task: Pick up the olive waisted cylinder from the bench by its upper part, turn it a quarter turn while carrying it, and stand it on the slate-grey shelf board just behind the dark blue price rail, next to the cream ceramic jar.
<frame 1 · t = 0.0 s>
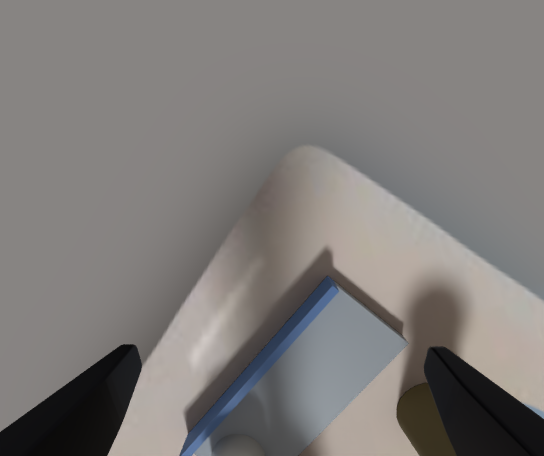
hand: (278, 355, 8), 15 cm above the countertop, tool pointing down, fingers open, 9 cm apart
olive waisted cylinder: (428, 410, 26), on the countertop
shelf: (292, 389, 26), on the countertop
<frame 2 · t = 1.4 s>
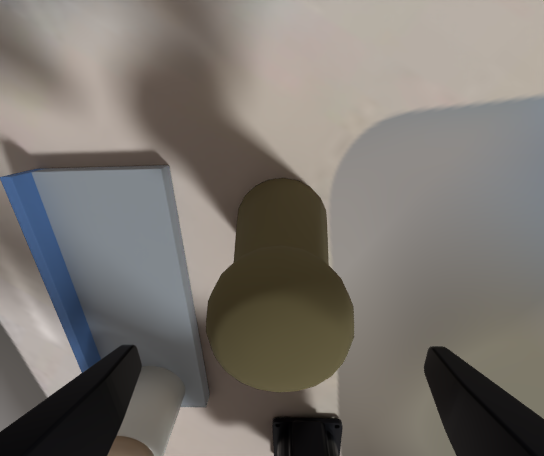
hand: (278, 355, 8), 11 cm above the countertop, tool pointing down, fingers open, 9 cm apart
olive waisted cylinder: (281, 221, 19), on the countertop
ceramic jar: (156, 386, 23), point 1 cm above the countertop, touching shelf
shelf: (142, 301, 21), on the countertop
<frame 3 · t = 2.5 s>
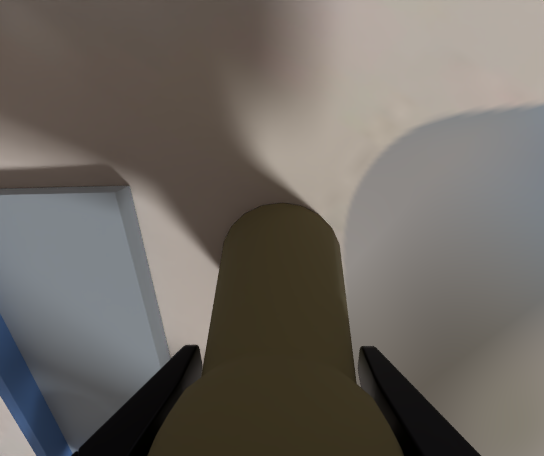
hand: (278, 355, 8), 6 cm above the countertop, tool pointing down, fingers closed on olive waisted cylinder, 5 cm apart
olive waisted cylinder: (280, 257, 14), on the countertop, touching gripper
shelf: (106, 352, 17), on the countertop
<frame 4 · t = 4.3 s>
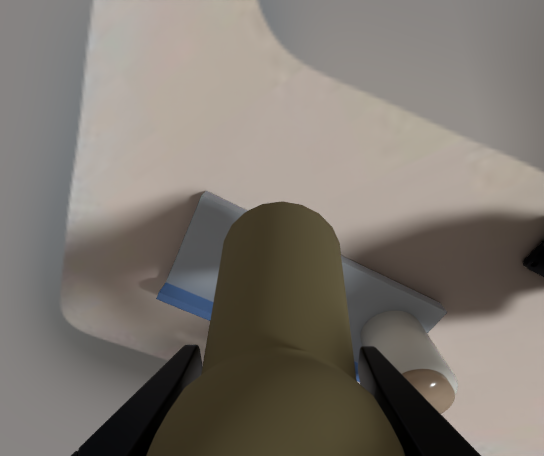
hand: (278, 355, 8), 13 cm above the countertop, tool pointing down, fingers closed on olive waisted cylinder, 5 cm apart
olive waisted cylinder: (280, 256, 14), point 7 cm above the countertop, touching gripper
ceramic jar: (390, 334, 23), point 1 cm above the countertop, touching shelf
shelf: (305, 288, 23), on the countertop
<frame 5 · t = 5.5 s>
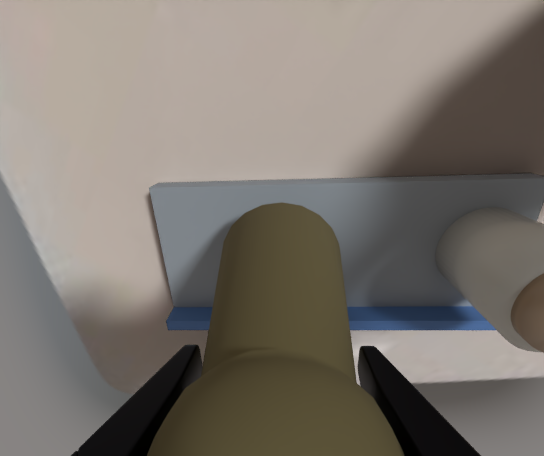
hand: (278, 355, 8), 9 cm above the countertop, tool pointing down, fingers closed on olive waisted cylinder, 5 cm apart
olive waisted cylinder: (280, 257, 14), point 3 cm above the countertop, touching gripper
ceramic jar: (481, 248, 16), point 1 cm above the countertop, touching shelf
shelf: (335, 242, 17), on the countertop
when the fingers open (8 cm above the countertop, at t = 6.1 s): olive waisted cylinder stays where it is, resting on shelf.
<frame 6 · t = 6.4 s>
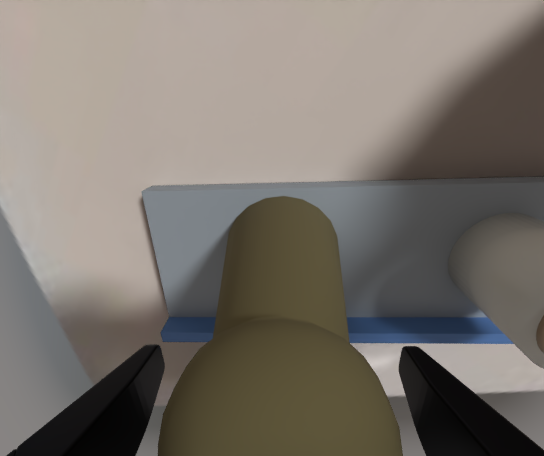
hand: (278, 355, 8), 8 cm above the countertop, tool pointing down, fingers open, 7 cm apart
olive waisted cylinder: (282, 248, 15), point 1 cm above the countertop, touching shelf
ceramic jar: (497, 257, 15), point 1 cm above the countertop, touching shelf
shelf: (340, 248, 16), on the countertop
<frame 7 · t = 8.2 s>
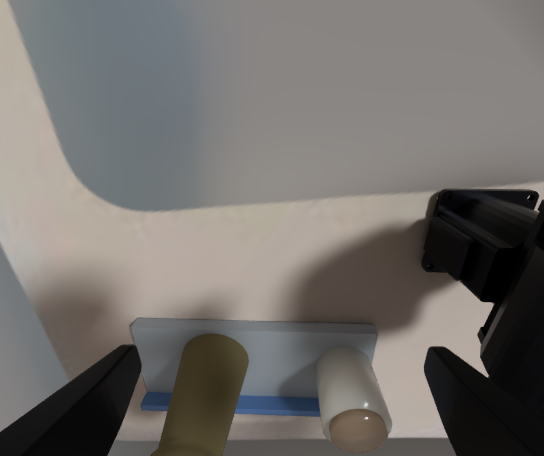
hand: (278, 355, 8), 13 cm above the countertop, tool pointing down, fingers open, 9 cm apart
olive waisted cylinder: (216, 357, 25), point 1 cm above the countertop, touching shelf
ceramic jar: (342, 368, 25), point 1 cm above the countertop, touching shelf
shelf: (254, 354, 26), on the countertop
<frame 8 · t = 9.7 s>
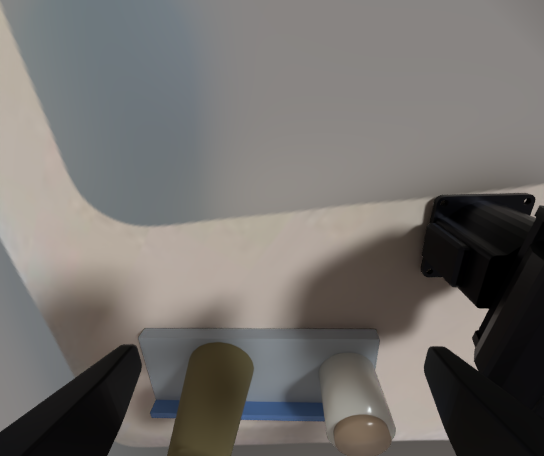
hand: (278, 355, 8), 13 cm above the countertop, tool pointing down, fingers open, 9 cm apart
olive waisted cylinder: (221, 365, 25), point 1 cm above the countertop, touching shelf
ceramic jar: (346, 373, 25), point 1 cm above the countertop, touching shelf
shelf: (259, 361, 26), on the countertop
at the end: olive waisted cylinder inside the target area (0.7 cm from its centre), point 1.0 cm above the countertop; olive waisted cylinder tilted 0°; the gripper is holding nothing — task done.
